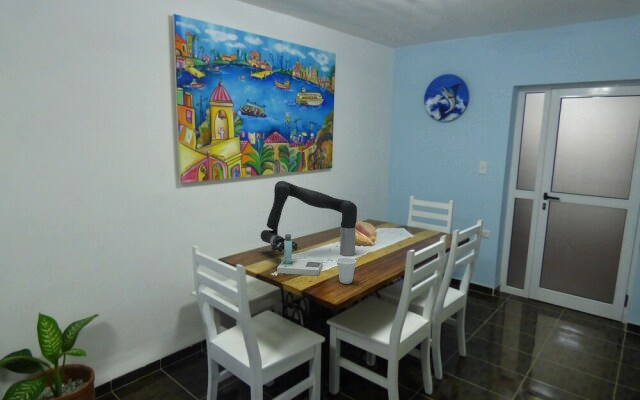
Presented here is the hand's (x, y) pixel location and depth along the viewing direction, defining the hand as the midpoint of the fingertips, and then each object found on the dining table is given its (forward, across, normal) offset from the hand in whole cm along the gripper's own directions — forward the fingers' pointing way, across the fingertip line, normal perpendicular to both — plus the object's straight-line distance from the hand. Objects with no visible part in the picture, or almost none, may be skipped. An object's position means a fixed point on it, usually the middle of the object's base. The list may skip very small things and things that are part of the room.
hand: (288, 249), depth 203 cm
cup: (+30, +19, +11) cm, 37 cm away
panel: (+3, +6, +11) cm, 13 cm away
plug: (-1, 0, +11) cm, 11 cm away
